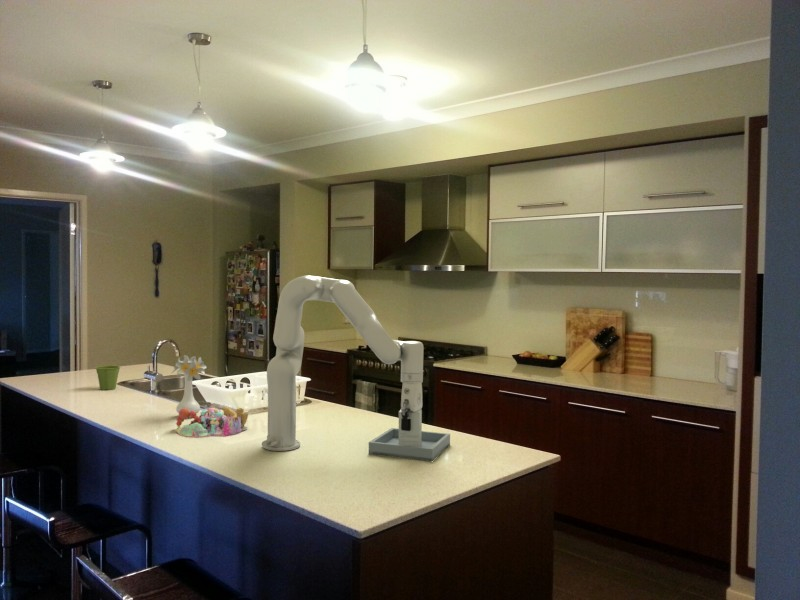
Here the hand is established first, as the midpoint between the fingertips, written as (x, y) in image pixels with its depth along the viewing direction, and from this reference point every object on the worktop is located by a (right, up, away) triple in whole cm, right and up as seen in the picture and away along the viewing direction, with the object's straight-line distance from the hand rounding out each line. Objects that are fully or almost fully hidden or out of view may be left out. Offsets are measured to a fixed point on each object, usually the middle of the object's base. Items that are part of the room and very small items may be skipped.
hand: (410, 427), depth 214 cm
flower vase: (-90, -5, +45) cm, 101 cm away
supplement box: (0, -7, 0) cm, 7 cm away
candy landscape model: (-74, -6, +22) cm, 78 cm away
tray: (0, -8, 0) cm, 8 cm away
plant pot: (-152, -2, +104) cm, 184 cm away
